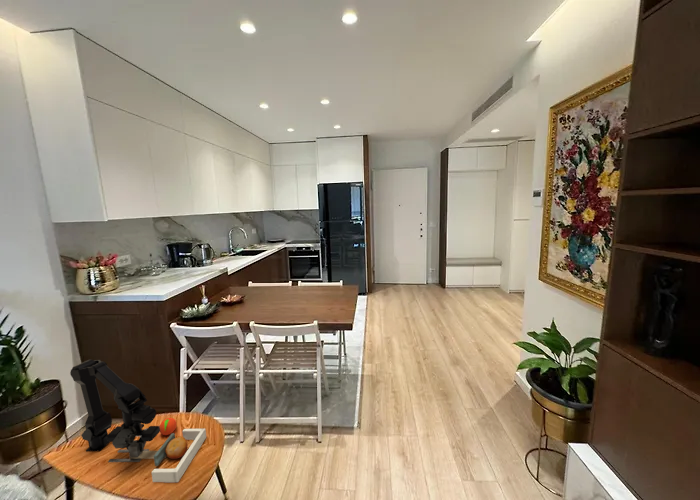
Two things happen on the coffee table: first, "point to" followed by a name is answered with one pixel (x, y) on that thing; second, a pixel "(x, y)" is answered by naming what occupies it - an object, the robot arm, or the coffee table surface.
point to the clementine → (168, 426)
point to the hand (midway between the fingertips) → (136, 451)
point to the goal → (177, 473)
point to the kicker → (156, 455)
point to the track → (125, 459)
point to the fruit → (176, 448)
